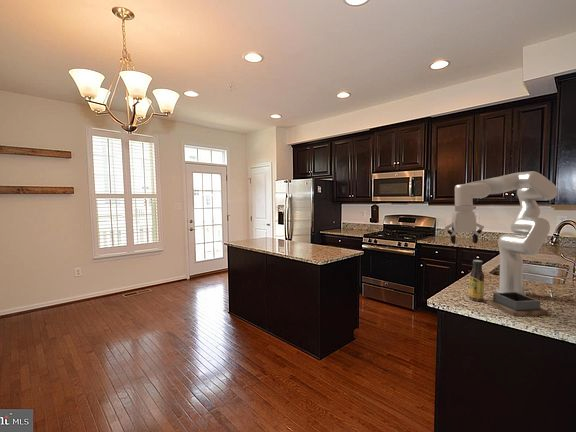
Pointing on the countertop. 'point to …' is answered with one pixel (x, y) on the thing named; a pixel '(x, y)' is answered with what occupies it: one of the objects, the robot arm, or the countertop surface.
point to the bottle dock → (516, 304)
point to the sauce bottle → (476, 281)
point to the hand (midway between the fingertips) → (464, 243)
